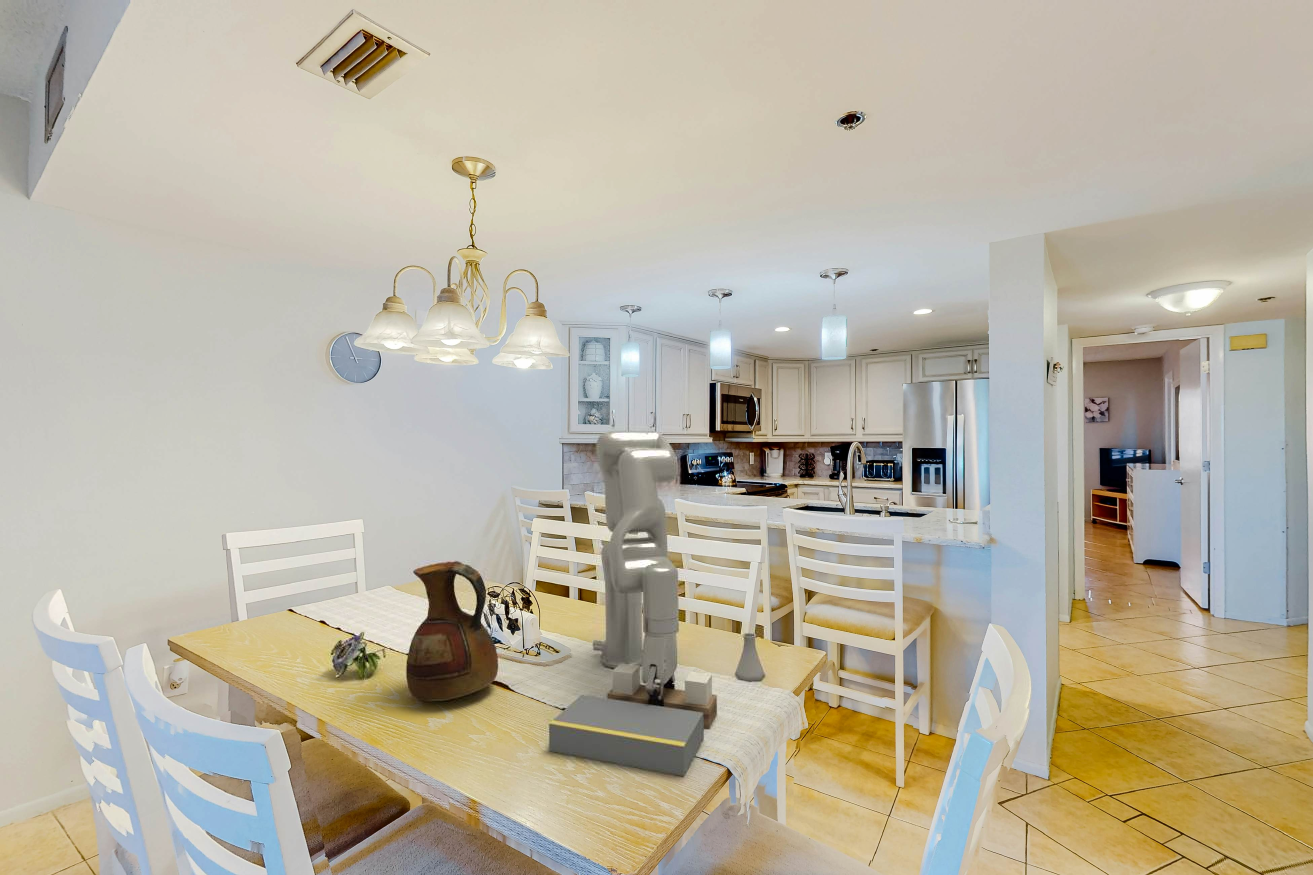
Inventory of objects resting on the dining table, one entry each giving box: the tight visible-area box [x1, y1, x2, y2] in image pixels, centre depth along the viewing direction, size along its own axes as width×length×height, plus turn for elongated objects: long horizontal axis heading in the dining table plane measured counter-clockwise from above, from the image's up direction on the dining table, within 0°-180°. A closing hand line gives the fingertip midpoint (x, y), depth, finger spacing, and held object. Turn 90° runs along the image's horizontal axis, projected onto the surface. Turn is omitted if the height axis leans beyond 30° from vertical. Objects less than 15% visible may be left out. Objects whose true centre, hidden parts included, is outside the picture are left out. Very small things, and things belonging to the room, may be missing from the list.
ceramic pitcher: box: [405, 560, 499, 702], centre depth 132 cm, size 20×20×30 cm
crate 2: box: [684, 671, 713, 706], centre depth 118 cm, size 4×4×4 cm
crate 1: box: [611, 663, 641, 695], centre depth 123 cm, size 4×4×4 cm
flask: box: [734, 632, 766, 682], centre depth 140 cm, size 7×7×10 cm
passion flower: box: [330, 631, 387, 679], centre depth 144 cm, size 11×11×12 cm
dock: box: [548, 694, 705, 777], centre depth 108 cm, size 26×13×5 cm, turn 71°
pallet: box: [606, 684, 718, 730], centre depth 121 cm, size 22×6×4 cm, turn 71°
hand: (662, 708), depth 121 cm, fingers closed on pallet, 6 cm apart
